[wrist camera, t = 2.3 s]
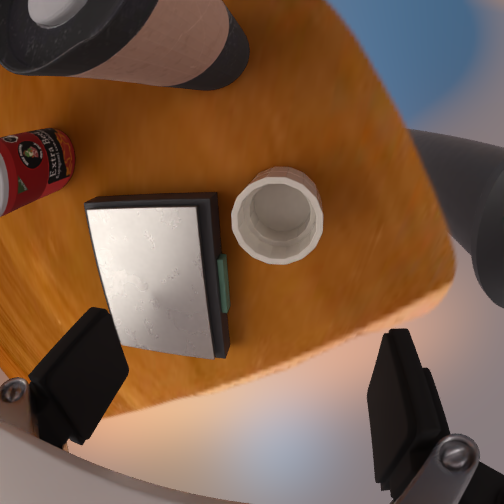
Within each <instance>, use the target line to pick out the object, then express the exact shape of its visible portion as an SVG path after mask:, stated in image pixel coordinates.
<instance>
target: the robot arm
mask: <svg viewBox="0 0 504 504" xmlns="http://www.w3.org/2000/svg"><path fill="white" fill-rule="evenodd" d="M128 373H129V367H128V364H127V361H126V358H125V356H124V353H123V350H122V347H121V344H120V341H119V338H118V335H117V332H116V329H115V326H114V323H113V319H112V317H111V315H110V314H109V313H108V311H107V310H106V309H102V308H96V307H91V308H90V309H89V310H88V311H87V312H86V313H85V314H84V315H83V316H82V317H81V318H80V319H79V320H78V321H77V322H76V323H75V324H74V325H73V326H72V327H71V329H70V330H69V331H68V332H67V333H66V334H65V335H64V336H63V337H62V338H61V339H60V340H59V341H58V343H57V344H56V345H55V346H54V347H53V348H52V349H51V350H50V351H49V353H48V354H47V355H46V356H45V357H44V358H43V359H42V360H41V362H40V363H39V364H38V365H37V366H36V367H35V368H34V370H33V371H32V372H31V373H30V374H29V375H28V377H29V378H30V380H31V382H30V384H28V382H27V381H26V380H25V379H23V378H19V377H16V378H12V379H9V380H7V381H6V382H4V383H3V384H2V385H1V387H0V504H249V503H241V502H234V501H228V500H222V499H216V498H211V497H206V496H200V495H196V494H191V493H186V492H182V491H178V490H174V489H170V488H166V487H162V486H159V485H155V484H152V483H149V482H145V481H142V480H139V479H135V478H133V477H129V476H126V475H124V474H121V473H118V472H115V471H112V470H110V469H107V468H104V467H102V466H99V465H96V464H94V463H91V462H89V461H87V460H84V459H82V458H80V457H77V456H75V455H73V454H71V453H69V452H68V447H67V440H68V439H70V440H71V441H73V442H75V443H77V444H80V445H83V443H84V442H85V440H87V439H89V438H90V437H91V435H92V433H93V432H94V430H95V428H96V427H97V425H98V423H99V422H100V420H101V418H102V417H103V415H104V413H105V412H106V410H107V408H108V407H109V405H110V403H111V402H112V400H113V399H114V397H115V395H116V394H117V392H118V390H119V389H120V387H121V386H122V384H123V382H124V381H125V379H126V377H127V376H128ZM367 402H368V410H369V418H370V427H371V437H372V448H373V458H374V472H375V481H376V483H381V491H384V490H390V492H391V497H392V498H393V500H392V501H391V502H390V504H504V475H503V474H501V473H499V472H497V471H496V470H494V469H492V468H490V467H488V466H487V465H485V464H483V463H481V462H480V461H479V460H480V451H479V448H478V446H477V444H476V443H475V442H474V440H473V439H471V438H470V437H468V436H466V435H462V434H450V431H449V427H448V424H447V421H446V417H445V414H444V411H443V407H442V405H441V401H440V399H439V395H438V392H437V389H436V386H435V383H434V380H433V377H432V375H431V372H430V370H429V369H428V368H422V366H421V363H420V360H419V357H418V354H417V352H416V349H415V346H414V344H413V341H412V338H411V335H410V333H409V330H408V329H390V330H389V333H385V334H384V335H383V338H382V341H381V345H380V349H379V353H378V357H377V360H376V364H375V367H374V371H373V374H372V378H371V381H370V384H369V388H368V392H367Z"/></svg>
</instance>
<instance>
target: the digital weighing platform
mask: <svg viewBox="0 0 504 504" xmlns="http://www.w3.org/2000/svg"><path fill="white" fill-rule="evenodd" d="M87 214H88V220H89V225H90V230H91V235H92V239H93V244H94V248H95V253H96V257H97V261H98V265H99V270H100V273H101V277H102V281H103V285H104V289H105V292H106V296H107V299H108V303H109V306H110V310H111V313H112V316H113V320H114V323H115V326H116V329H117V332H118V335H119V338H120V341H121V344H122V345H125V346H130V347H136V348H141V349H147V350H152V351H158V352H164V353H170V354H177V355H184V356H191V357H198V358H206V359H215V357H216V355H215V348H214V341H213V333H212V326H211V318H210V311H209V303H208V294H207V286H206V278H205V269H204V260H203V250H202V241H201V231H200V220H199V209H198V205H171V206H131V207H104V208H89V209H87Z"/></svg>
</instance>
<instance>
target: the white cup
mask: <svg viewBox="0 0 504 504" xmlns="http://www.w3.org/2000/svg"><path fill="white" fill-rule="evenodd" d="M231 218H232V230H233V233H234V235H235V237H236V239H237V241H238V243H239V245H240V246H241V247H242V248H243V249H244V250H245V251H246V252H247V253H248V254H250V255H251V256H252V257H253V258H256V259H258V260H260V261H263V262H265V263H269V264H289V263H292V262H295V261H298V260H301V259H303V258H304V257H305V256H306V255H307V254H309V253H310V252H311V251H312V250H313V249H314V248H315V247H316V245H317V243H318V241H319V239H320V237H321V235H322V232H323V209H322V203H321V197H320V195H319V192H318V190H317V187H316V185H315V183H314V182H313V181H312V180H311V179H310V178H309V177H308V176H307V175H306V174H304V173H303V172H301V171H298V170H296V169H293V168H291V167H272V168H270V169H267V170H265V171H262V172H260V173H259V174H258V175H257V176H256V177H255V178H254V179H253V180H252V181H251V182H250V183H249V184H248V185H247V186H246V187H245V188H244V190H243V191H242V192H241V193H240V194H239V195H238V197H237V198H236V201H235V204H234V207H233V209H232V212H231Z"/></svg>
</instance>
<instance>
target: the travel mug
mask: <svg viewBox="0 0 504 504" xmlns="http://www.w3.org/2000/svg"><path fill="white" fill-rule="evenodd" d="M249 52H250V51H249V43H248V40H247V37H246V35H245V34H244V32H243V30H242V29H241V27H240V26H239V24H238V23H237V21H236V20H235V18H234V17H233V15H232V14H231V13H230V11H229V10H228V8H227V7H226V6H225V4H224V3H223V1H222V0H0V64H1V65H2V66H3V67H4V68H6V69H7V70H8V71H10V72H12V73H15V74H20V75H28V76H67V77H83V78H96V79H107V80H116V81H125V82H133V83H140V84H147V85H154V86H163V87H175V88H185V89H194V90H215V89H219V88H222V87H225V86H227V85H229V84H230V83H232V82H233V81H234V80H236V79H237V78H238V77H239V76H240V75H241V73H242V72H243V71H244V69H245V67H246V65H247V62H248V59H249Z"/></svg>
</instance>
